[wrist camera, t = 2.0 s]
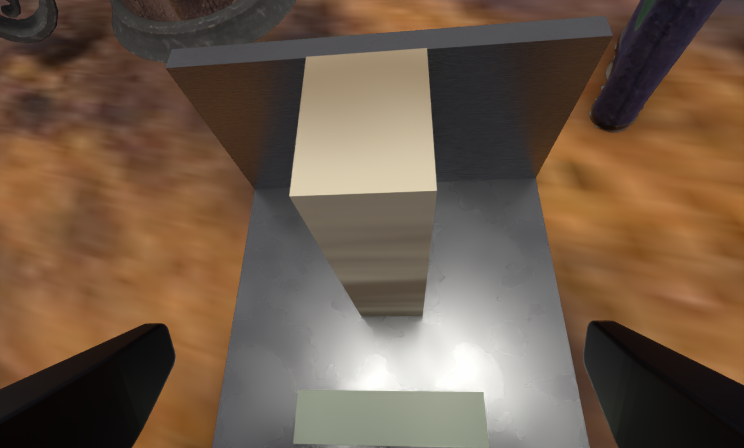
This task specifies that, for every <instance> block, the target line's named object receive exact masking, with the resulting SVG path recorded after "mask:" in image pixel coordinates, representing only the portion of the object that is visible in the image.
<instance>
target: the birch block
mask: <svg viewBox="0 0 744 448" xmlns="http://www.w3.org/2000/svg"><path fill="white" fill-rule="evenodd" d="M436 194H437V185H436V171H435V157H434V142H433V128H432V114H431V99H430V85H429V71H428V56H427V48H421V49H407V50H394V51H380V52H366V53H352V54H339V55H325V56H311V57H306V62H305V70H304V79H303V87H302V95H301V103H300V112H299V120H298V128H297V137H296V145H295V153H294V161H293V170H292V178H291V186H290V195H289V197H290V198H291V200H292V202H293V203H294V205H295V207H296V208H297V210H298V212H299V213H300V215H301V217H302V218H303V220H304V222H305V223H306V225H307V227H308V228H309V230H310V232H311V233H312V235H313V237H314V239H315V240H316V242H317V244H318V245H319V247H320V249H321V250H322V252H323V254H324V255H325V257H326V259H327V260H328V262H329V264H330V265H331V267H332V269H333V270H334V272H335V274H336V275H337V277H338V279H339V280H340V282H341V284H342V285H343V287H344V289H345V290H346V292H347V294H348V295H349V297H350V299H351V300H352V302H353V304H354V305H355V307H356V309H357V310H358V312H359V314H360V316H361V317H363V316H423V309H424V301H425V292H426V283H427V274H428V265H429V256H430V247H431V238H432V230H433V221H434V212H435V203H436Z"/></svg>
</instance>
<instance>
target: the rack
mask: <svg viewBox="0 0 744 448" xmlns="http://www.w3.org/2000/svg"><path fill="white" fill-rule="evenodd" d="M612 37H613V34H612V32H611V29H610V26H609V24H608V21H607V18H606V16H596V17H583V18H570V19H557V20H544V21H531V22H518V23H506V24H493V25H480V26H467V27H454V28H441V29H428V30H415V31H402V32H389V33H376V34H363V35H350V36H338V37H325V38H312V39H299V40H286V41H273V42H260V43H247V44H234V45H221V46H208V47H195V48H182V49H172V50H171V53H170V56H169V59H168V62H167V65H166V70H167V71H168V72H169V74H170V75H171V76H172V78H173V79H174V80H175V82H176V83H177V84H178V86H179V87H180V88H181V90H182V91H183V93H184V94H185V95H186V97H187V98H188V99H189V101H190V102H191V103H192V105H193V106H194V107H195V109H196V110H197V112H198V113H199V114H200V116H201V117H202V118H203V120H204V121H205V122H206V124H207V125H208V126H209V128H210V129H211V130H212V132H213V133H214V135H215V136H216V137H217V139H218V140H219V141H220V143H221V144H222V145H223V147H224V148H225V149H226V151H227V152H228V153H229V155H230V156H231V158H232V159H233V160H234V162H235V163H236V164H237V166H238V167H239V168H240V170H241V171H242V172H243V174H244V175H245V177H246V178H247V179H248V181H249V182H250V183H251V185H252V186H253V187H254V189H255V192H254V198H253V204H252V210H251V216H250V222H249V228H248V234H247V240H246V246H245V252H244V258H243V264H242V270H241V276H240V282H239V288H238V294H237V300H236V306H235V312H234V318H233V324H232V330H231V336H230V342H229V348H228V354H227V361H226V367H225V373H224V379H223V385H222V391H221V397H220V403H219V409H218V415H217V421H216V427H215V433H214V439H213V445H212V448H453V447H412V446H371V445H329V444H293V440H294V429H295V417H296V406H297V394H298V390H355V391H449V392H484V402H485V412H486V421H487V431H488V441H489V448H590V447H589V442H588V437H587V432H586V427H585V422H584V417H583V412H582V407H581V402H580V397H579V392H578V387H577V382H576V377H575V372H574V367H573V362H572V357H571V352H570V347H569V342H568V337H567V332H566V327H565V322H564V317H563V312H562V307H561V302H560V297H559V292H558V288H557V283H556V278H555V273H554V268H553V263H552V258H551V253H550V248H549V243H548V238H547V233H546V228H545V223H544V218H543V213H542V208H541V203H540V198H539V193H538V188H537V183H536V176H537V174H538V173H539V171H540V169H541V167H542V165H543V163H544V161H545V160H546V158H547V156H548V154H549V152H550V150H551V149H552V147H553V145H554V143H555V141H556V139H557V138H558V136H559V134H560V132H561V130H562V128H563V127H564V125H565V123H566V121H567V119H568V117H569V116H570V114H571V112H572V110H573V108H574V106H575V105H576V103H577V101H578V99H579V97H580V95H581V94H582V92H583V90H584V88H585V86H586V84H587V82H588V81H589V79H590V77H591V75H592V73H593V71H594V70H595V68H596V66H597V64H598V62H599V60H600V59H601V57H602V55H603V53H604V51H605V49H606V48H607V46H608V44H609V42H610V40H611V38H612ZM421 48H427V56H428V71H429V85H430V99H431V114H432V128H433V142H434V157H435V171H436V185H437V194H436V203H435V212H434V221H433V230H432V238H431V247H430V256H429V265H428V274H427V283H426V292H425V301H424V309H423V316H363V317H361V316H360V314H359V312H358V310H357V309H356V307H355V305H354V304H353V302H352V300H351V299H350V297H349V295H348V294H347V292H346V290H345V289H344V287H343V285H342V284H341V282H340V280H339V279H338V277H337V275H336V274H335V272H334V270H333V269H332V267H331V265H330V264H329V262H328V260H327V259H326V257H325V255H324V254H323V252H322V250H321V249H320V247H319V245H318V244H317V242H316V240H315V239H314V237H313V235H312V233H311V232H310V230H309V228H308V227H307V225H306V223H305V222H304V220H303V218H302V217H301V215H300V213H299V212H298V210H297V208H296V207H295V205H294V203H293V202H292V200H291V198H290V197H289V195H290V186H291V178H292V170H293V161H294V153H295V145H296V137H297V128H298V120H299V112H300V103H301V95H302V87H303V79H304V70H305V62H306V57H311V56H325V55H339V54H352V53H366V52H380V51H394V50H407V49H421Z"/></svg>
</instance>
